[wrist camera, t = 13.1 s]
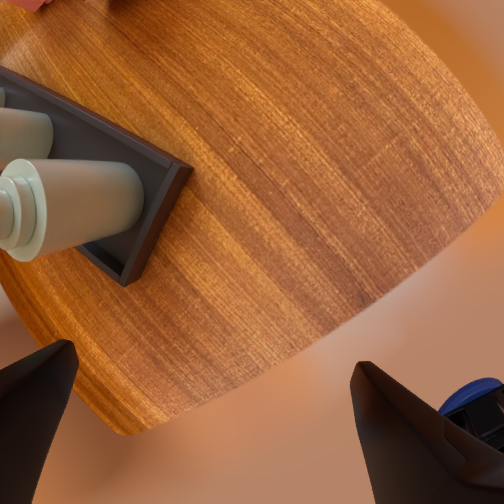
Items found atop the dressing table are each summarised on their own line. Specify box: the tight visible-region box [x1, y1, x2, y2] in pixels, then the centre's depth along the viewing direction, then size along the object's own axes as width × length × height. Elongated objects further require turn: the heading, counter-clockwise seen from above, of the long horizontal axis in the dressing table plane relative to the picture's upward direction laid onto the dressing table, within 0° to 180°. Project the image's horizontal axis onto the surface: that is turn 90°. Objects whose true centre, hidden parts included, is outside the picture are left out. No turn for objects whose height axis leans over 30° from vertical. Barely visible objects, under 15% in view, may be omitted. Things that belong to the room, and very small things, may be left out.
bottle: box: [0, 159, 144, 262], centre depth 14 cm, size 5×5×13 cm
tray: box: [0, 65, 193, 287], centre depth 21 cm, size 42×9×2 cm, turn 59°
